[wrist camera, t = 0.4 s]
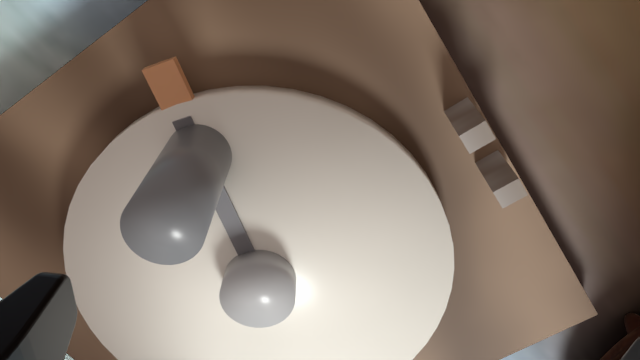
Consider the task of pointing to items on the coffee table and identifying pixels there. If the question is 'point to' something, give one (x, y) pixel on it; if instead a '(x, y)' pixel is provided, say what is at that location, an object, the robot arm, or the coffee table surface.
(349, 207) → the dial
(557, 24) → the coffee table surface
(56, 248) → the stand plate
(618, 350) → the wooden thread spool stand
